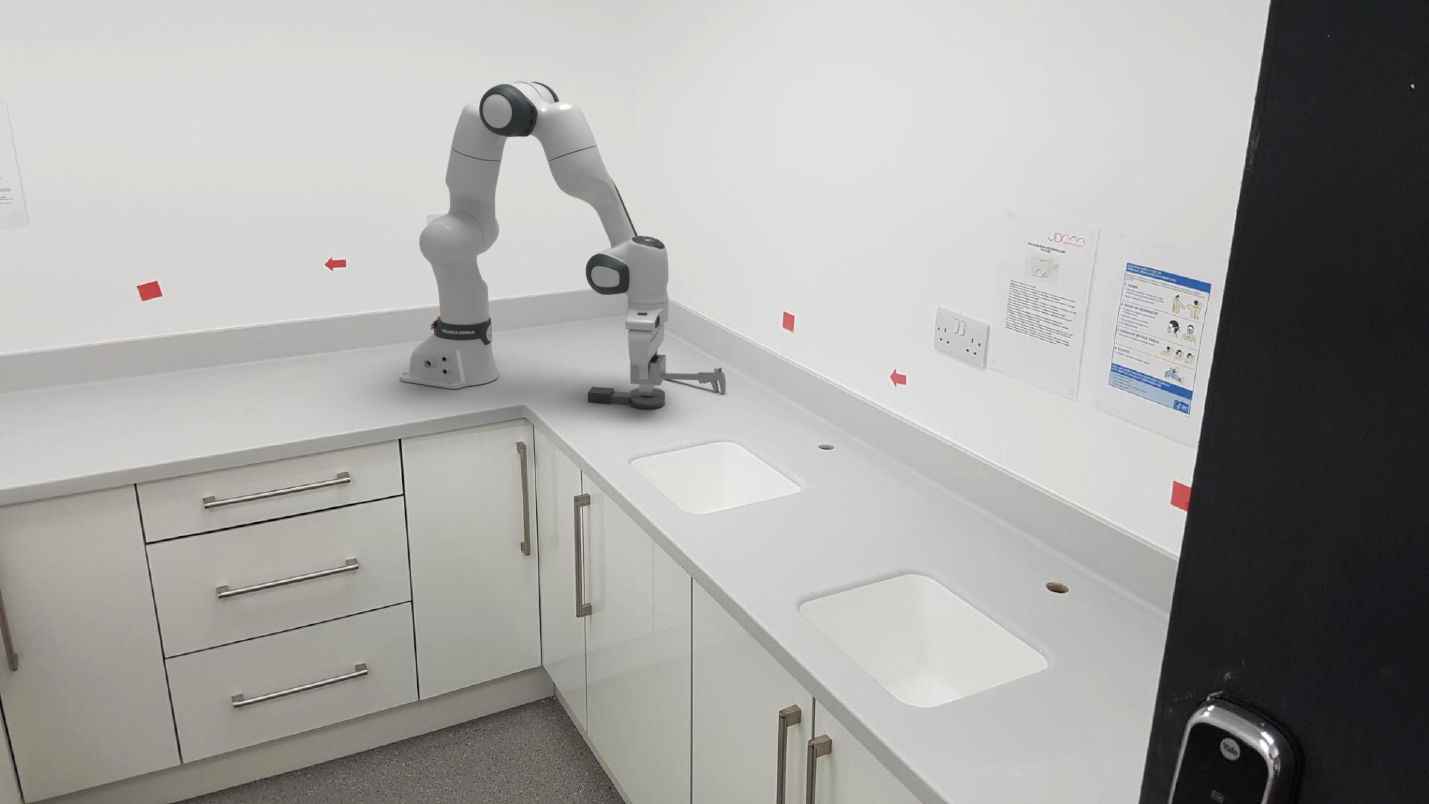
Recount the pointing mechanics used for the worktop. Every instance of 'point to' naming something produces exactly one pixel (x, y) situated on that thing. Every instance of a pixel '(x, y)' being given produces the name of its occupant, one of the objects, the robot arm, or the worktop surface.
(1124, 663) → the worktop surface
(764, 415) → the worktop surface
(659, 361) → the grey metal block
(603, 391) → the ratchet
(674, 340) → the worktop surface
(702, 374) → the caliper
